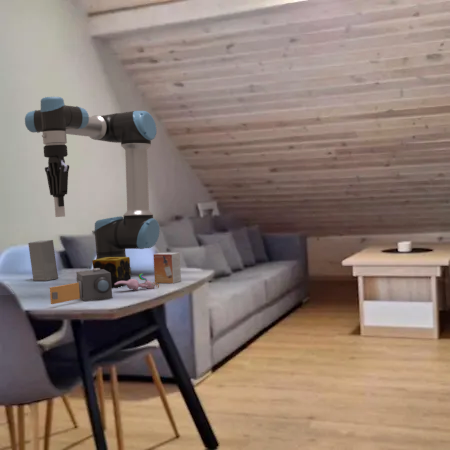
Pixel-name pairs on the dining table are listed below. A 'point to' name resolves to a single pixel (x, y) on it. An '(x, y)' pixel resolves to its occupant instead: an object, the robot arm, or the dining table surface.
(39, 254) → the skincare box
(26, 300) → the dining table surface
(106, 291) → the camera body
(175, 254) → the small box
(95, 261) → the candle
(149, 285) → the pink creature figurine
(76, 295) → the side door
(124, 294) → the dining table surface
